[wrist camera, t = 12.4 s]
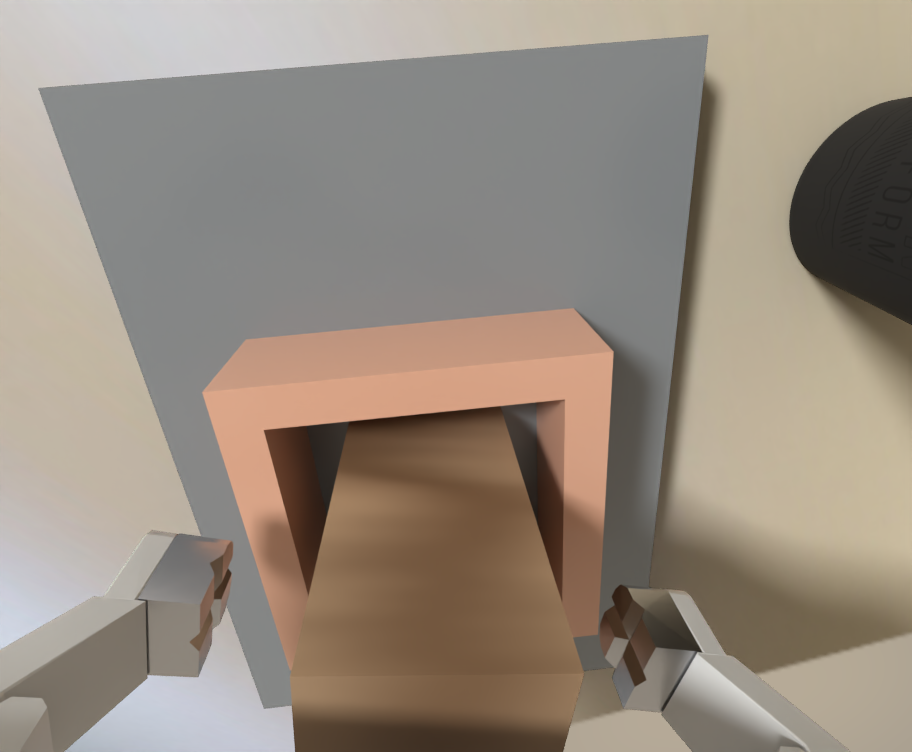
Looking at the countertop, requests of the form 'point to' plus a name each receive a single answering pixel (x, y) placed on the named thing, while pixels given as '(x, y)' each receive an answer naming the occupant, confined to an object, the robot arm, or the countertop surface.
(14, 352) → the countertop surface
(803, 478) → the countertop surface
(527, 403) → the stand
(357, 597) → the brown wooden block
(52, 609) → the countertop surface
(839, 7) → the countertop surface
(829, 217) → the drinking cup
